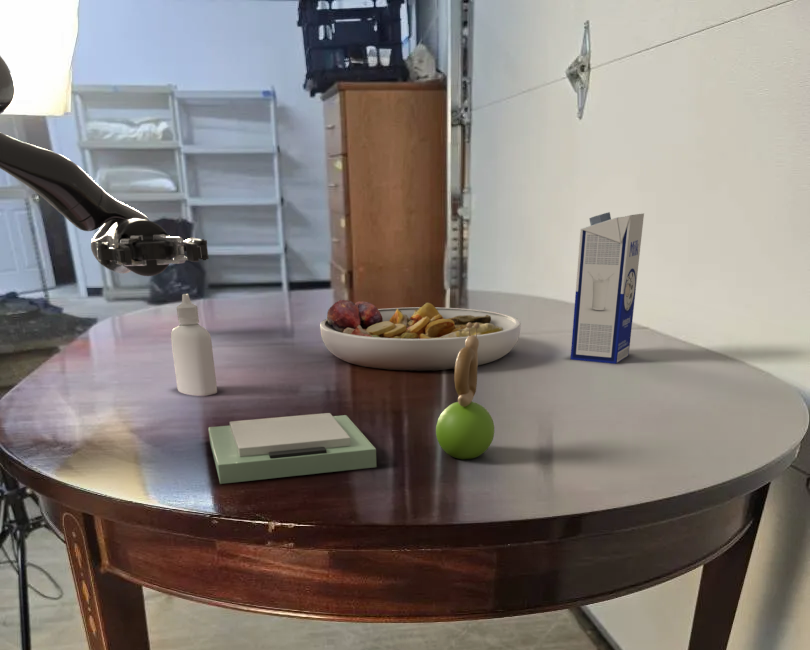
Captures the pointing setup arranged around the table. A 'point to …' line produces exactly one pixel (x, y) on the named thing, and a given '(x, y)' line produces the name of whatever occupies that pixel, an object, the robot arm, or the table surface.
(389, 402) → the table surface
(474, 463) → the table surface
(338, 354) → the bowl
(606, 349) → the milk carton
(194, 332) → the eye dropper bottle
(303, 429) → the scale
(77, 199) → the robot arm
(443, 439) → the snail figurine
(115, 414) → the table surface
